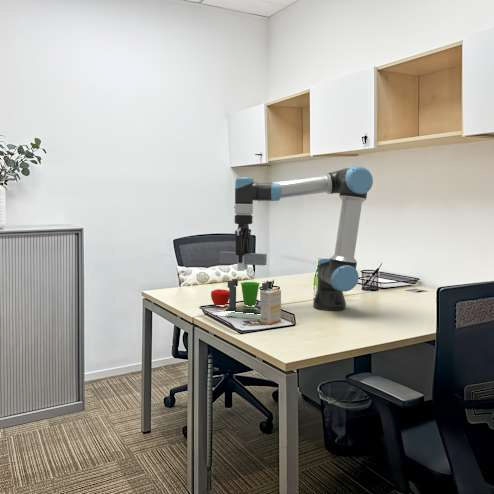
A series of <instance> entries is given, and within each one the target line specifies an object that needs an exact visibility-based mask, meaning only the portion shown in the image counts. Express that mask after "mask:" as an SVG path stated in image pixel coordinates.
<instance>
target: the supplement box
mask: <svg viewBox="0 0 494 494" xmlns="http://www.w3.org/2000/svg"><path fill="white" fill-rule="evenodd" d="M269 289H270V288H269ZM260 310H261V317H260V320H259V321H260V324H263V325H268V326H269V325H272V324H276V323H279V322H281V320H282V289H277V288H276V289H275V288H271V289H270V290H266V291H263V290H261V291H260Z"/></svg>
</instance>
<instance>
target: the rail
mask: <svg viewBox="0 0 494 494" xmlns="http://www.w3.org/2000/svg"><path fill="white" fill-rule="evenodd" d="M218 260H219V262H218V263H220V264H231V265H232V264H234V265H238V255H236V251H219V257H218ZM244 264H247V265H248V266H249V265H250V266H252V265H253V266H266V265H267V253H258V252H257V253H255V252H252V253H251V252H250V253H244Z"/></svg>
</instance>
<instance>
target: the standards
mask: <svg viewBox="0 0 494 494" xmlns="http://www.w3.org/2000/svg"><path fill="white" fill-rule="evenodd" d="M272 282H273V281H270V280H266V281H265V282H262V283H261V291H266V290H270V289H273V288H272V287H273V283H272ZM238 286H239V279H238V278H232V279H231V280H227V288H228V291H229V301H228V307H227V308H225V309H224V311H225V310H226V311H235V312H243V313H254V314H261V309H256V308H247V307H245V308H244V307H237V287H238Z"/></svg>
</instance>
